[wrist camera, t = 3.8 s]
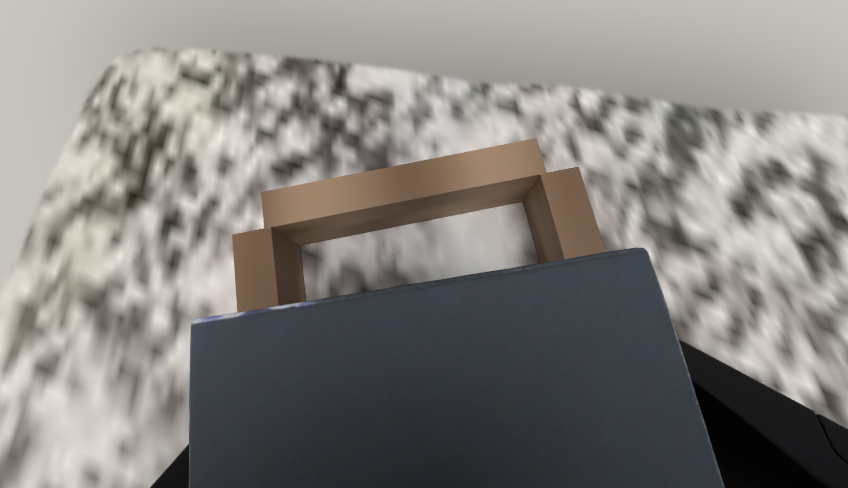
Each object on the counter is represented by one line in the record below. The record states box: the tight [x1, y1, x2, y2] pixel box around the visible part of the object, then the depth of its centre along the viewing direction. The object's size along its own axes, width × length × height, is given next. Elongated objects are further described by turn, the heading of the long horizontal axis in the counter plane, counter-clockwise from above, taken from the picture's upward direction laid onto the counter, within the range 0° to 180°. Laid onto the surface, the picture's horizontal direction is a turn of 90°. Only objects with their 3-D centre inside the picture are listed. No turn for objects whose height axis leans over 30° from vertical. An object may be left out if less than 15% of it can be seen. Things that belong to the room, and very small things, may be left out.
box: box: [189, 248, 725, 488], centre depth 10 cm, size 8×6×11 cm
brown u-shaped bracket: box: [232, 139, 606, 312], centre depth 14 cm, size 14×14×3 cm
